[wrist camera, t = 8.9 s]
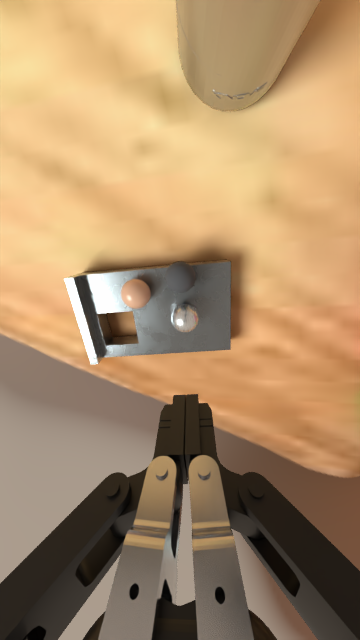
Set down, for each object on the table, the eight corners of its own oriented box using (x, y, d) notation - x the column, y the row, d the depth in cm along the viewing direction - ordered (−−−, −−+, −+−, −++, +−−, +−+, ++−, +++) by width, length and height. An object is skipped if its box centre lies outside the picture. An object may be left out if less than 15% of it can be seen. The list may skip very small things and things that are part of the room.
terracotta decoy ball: (123, 277, 22) (113, 283, 20) (150, 275, 22) (145, 280, 19) (128, 304, 24) (120, 313, 21) (154, 302, 23) (150, 311, 21)
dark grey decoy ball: (162, 275, 22) (164, 254, 20) (189, 275, 23) (195, 255, 20) (165, 299, 21) (169, 280, 18) (194, 298, 22) (202, 279, 19)
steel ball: (199, 299, 23) (171, 299, 23) (199, 313, 20) (168, 313, 20) (199, 322, 24) (173, 322, 25) (199, 338, 22) (170, 337, 22)
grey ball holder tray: (82, 272, 25) (64, 278, 21) (226, 259, 24) (233, 263, 20) (103, 348, 29) (90, 364, 25) (226, 340, 28) (232, 355, 24)
